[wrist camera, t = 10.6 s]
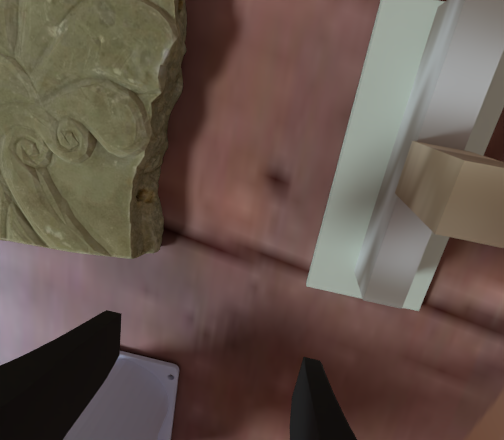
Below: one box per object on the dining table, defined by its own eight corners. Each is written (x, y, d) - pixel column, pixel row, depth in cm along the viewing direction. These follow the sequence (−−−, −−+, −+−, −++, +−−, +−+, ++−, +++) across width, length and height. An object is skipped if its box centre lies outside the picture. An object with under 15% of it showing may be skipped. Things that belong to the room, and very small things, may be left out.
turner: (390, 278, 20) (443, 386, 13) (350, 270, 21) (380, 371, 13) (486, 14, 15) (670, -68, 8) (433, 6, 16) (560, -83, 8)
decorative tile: (-65, 212, 25) (-122, 229, 21) (-146, -152, 17) (-251, -211, 14) (184, 254, 23) (165, 281, 20) (205, -127, 16) (180, -186, 13)
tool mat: (416, 306, 21) (418, 311, 21) (306, 282, 22) (306, 286, 21) (534, 19, 16) (541, 16, 15) (382, -6, 16) (384, -9, 16)
